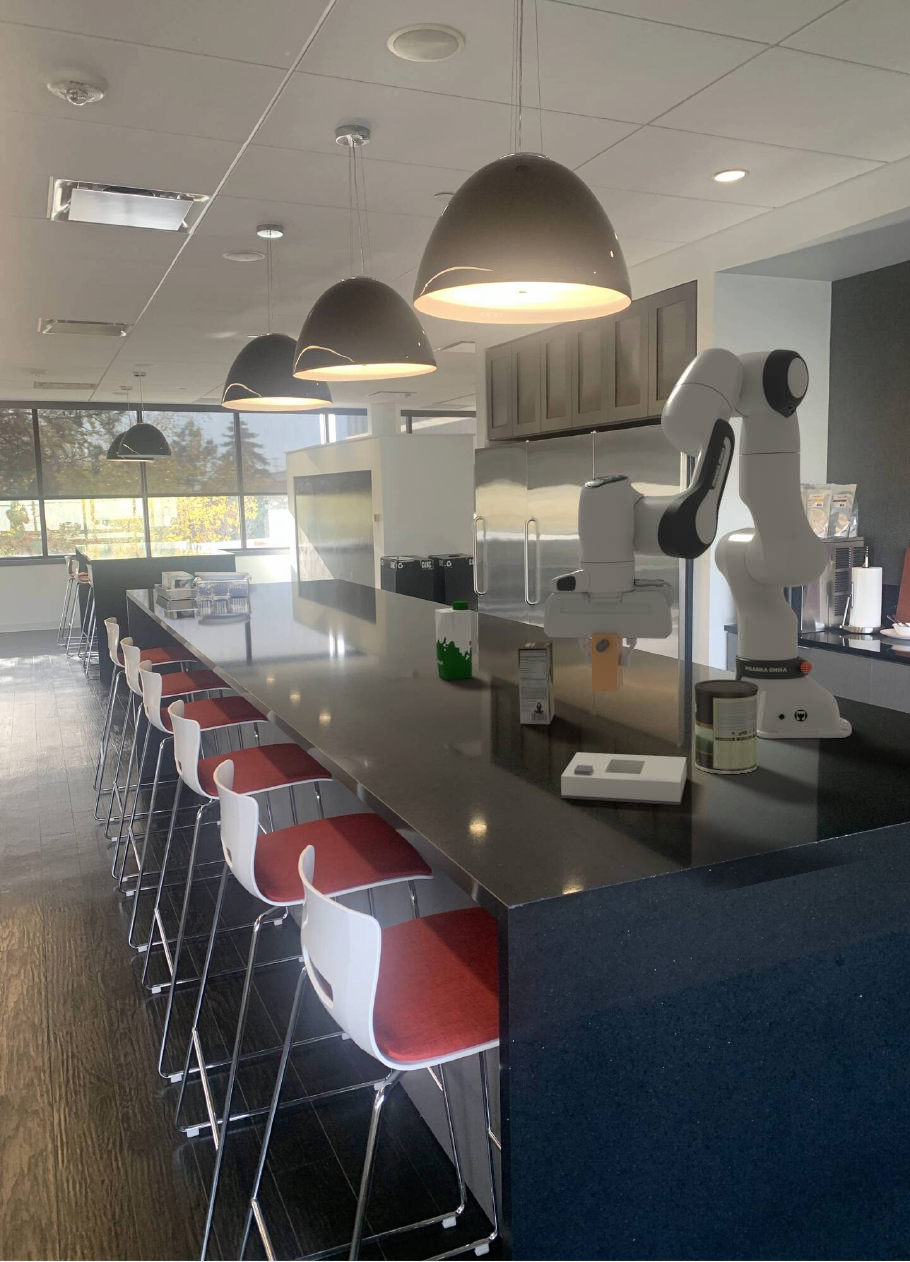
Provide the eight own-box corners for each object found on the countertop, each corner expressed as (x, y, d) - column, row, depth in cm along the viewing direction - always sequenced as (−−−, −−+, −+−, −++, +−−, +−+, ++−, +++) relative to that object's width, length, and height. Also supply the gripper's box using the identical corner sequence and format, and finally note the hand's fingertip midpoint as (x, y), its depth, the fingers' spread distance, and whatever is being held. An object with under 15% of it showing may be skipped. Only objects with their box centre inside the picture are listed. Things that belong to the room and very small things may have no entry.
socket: (686, 778, 155) (686, 753, 154) (680, 805, 141) (680, 778, 141) (577, 772, 160) (576, 748, 160) (561, 797, 147) (560, 772, 146)
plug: (622, 684, 154) (622, 629, 153) (614, 695, 146) (613, 637, 145) (598, 683, 155) (598, 629, 154) (588, 694, 147) (587, 637, 146)
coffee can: (684, 769, 160) (683, 687, 158) (710, 755, 168) (710, 677, 166) (742, 778, 153) (743, 693, 151) (767, 763, 161) (767, 682, 159)
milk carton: (476, 678, 248) (474, 602, 245) (443, 681, 245) (440, 604, 242) (466, 672, 256) (463, 599, 253) (434, 675, 254) (431, 601, 251)
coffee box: (525, 714, 205) (523, 641, 202) (554, 714, 203) (553, 640, 201) (519, 724, 196) (517, 647, 194) (550, 724, 194) (548, 647, 192)
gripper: (675, 577, 149) (675, 663, 151) (549, 577, 156) (550, 660, 158) (671, 580, 143) (671, 670, 145) (540, 581, 150) (541, 667, 152)
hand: (607, 665), depth 152 cm, fingers closed on plug, 4 cm apart
